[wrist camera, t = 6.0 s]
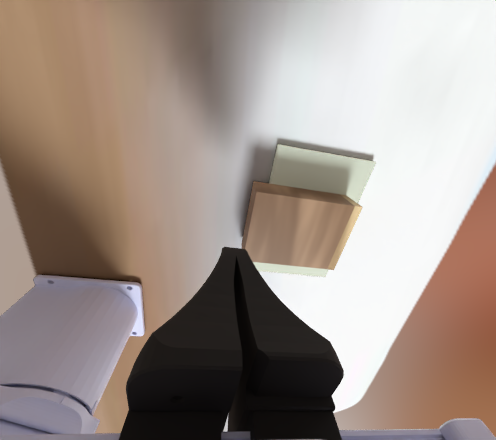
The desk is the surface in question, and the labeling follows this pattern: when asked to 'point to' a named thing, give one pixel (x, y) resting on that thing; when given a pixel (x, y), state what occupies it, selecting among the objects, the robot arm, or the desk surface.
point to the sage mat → (316, 184)
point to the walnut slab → (297, 226)
